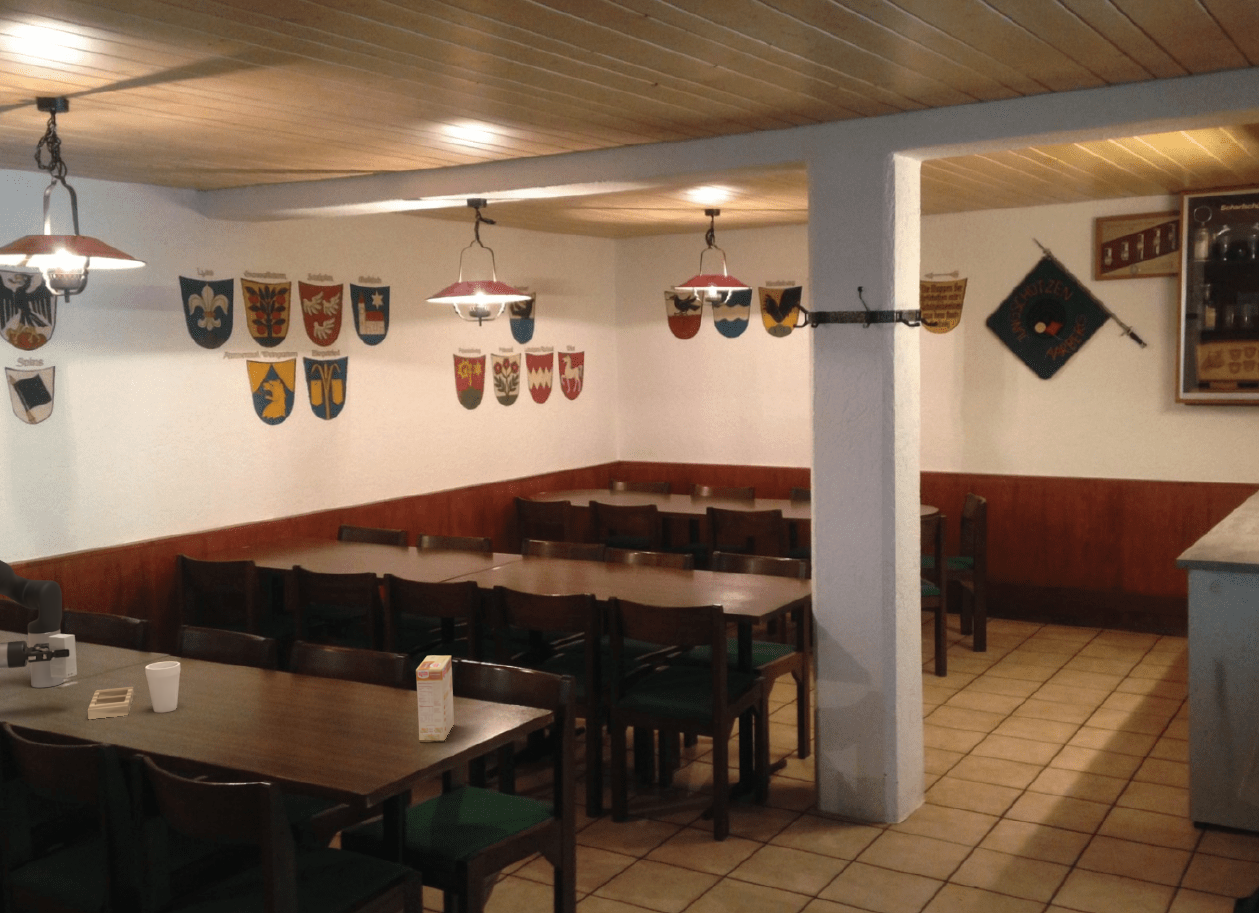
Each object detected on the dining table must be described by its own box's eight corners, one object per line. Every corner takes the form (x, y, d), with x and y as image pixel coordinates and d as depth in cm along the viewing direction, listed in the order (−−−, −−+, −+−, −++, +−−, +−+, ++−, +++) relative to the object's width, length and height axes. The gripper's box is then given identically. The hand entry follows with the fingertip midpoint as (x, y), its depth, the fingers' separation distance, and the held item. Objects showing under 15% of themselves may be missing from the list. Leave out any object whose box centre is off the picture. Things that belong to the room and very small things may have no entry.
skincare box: (77, 675, 352) (75, 634, 351) (66, 678, 348) (64, 637, 347) (61, 673, 354) (59, 633, 353) (49, 677, 350) (47, 636, 349)
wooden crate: (96, 700, 361) (95, 690, 361) (133, 696, 364) (133, 686, 364) (88, 720, 340) (87, 709, 340) (128, 716, 344) (127, 705, 343)
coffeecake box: (429, 725, 327) (426, 655, 326) (455, 725, 327) (452, 654, 325) (417, 743, 312) (414, 669, 311) (445, 742, 312) (442, 668, 310)
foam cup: (189, 706, 352) (187, 662, 351) (165, 715, 343) (162, 670, 342) (165, 703, 356) (162, 660, 355) (140, 712, 347) (138, 667, 346)
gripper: (2, 647, 338) (67, 642, 344) (11, 637, 352) (73, 632, 357) (4, 673, 339) (68, 668, 344) (13, 662, 353) (75, 657, 358)
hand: (70, 649), depth 351 cm, fingers closed on skincare box, 7 cm apart
